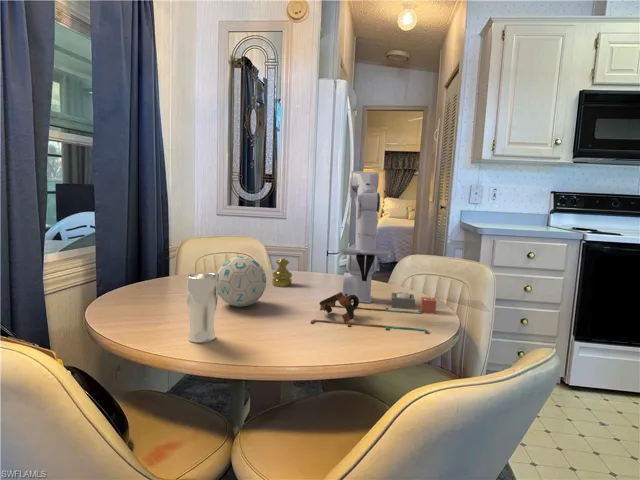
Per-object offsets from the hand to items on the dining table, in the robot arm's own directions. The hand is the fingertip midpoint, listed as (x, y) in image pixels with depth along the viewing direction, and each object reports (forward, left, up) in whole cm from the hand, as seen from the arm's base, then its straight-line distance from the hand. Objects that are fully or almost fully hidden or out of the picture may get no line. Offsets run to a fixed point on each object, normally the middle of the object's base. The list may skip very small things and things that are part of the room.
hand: (364, 280), depth 119 cm
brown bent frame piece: (-6, -5, -10) cm, 13 cm away
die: (+20, +8, -10) cm, 23 cm away
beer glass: (-36, -31, -10) cm, 49 cm away
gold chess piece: (-32, +29, -10) cm, 44 cm away
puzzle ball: (-37, -2, -10) cm, 38 cm away
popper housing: (+12, +13, -10) cm, 20 cm away
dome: (+12, +13, -9) cm, 20 cm away
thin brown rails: (+2, -3, -10) cm, 11 cm away
